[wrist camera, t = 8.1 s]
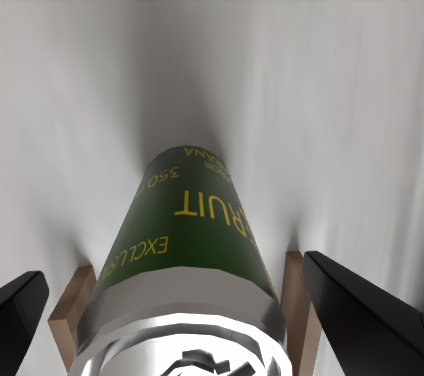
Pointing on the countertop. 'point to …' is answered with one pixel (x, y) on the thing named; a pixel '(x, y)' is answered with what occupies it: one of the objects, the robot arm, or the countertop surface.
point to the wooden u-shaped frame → (290, 304)
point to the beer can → (183, 283)
